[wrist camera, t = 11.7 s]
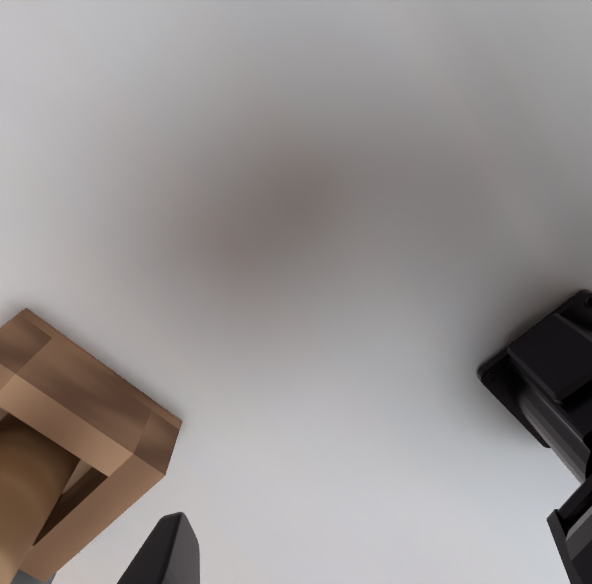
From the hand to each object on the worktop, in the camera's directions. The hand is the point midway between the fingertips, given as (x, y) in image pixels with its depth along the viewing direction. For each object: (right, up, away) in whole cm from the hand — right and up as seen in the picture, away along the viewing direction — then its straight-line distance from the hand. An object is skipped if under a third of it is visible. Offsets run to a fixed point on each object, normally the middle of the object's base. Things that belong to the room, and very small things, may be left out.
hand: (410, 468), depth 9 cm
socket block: (-14, -3, +14) cm, 20 cm away
